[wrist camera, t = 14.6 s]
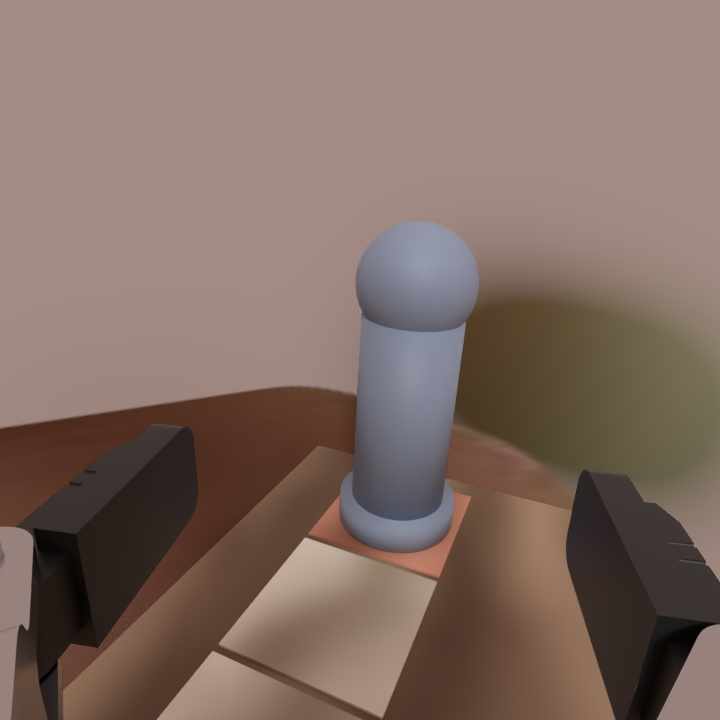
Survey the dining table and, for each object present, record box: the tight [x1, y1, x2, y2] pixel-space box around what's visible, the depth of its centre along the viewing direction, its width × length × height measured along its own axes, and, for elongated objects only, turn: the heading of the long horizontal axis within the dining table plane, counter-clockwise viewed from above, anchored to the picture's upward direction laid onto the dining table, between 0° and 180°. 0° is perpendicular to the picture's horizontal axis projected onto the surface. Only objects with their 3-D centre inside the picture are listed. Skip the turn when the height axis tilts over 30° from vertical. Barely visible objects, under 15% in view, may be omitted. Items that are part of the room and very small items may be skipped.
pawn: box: [340, 221, 479, 553], centre depth 21 cm, size 5×5×13 cm
